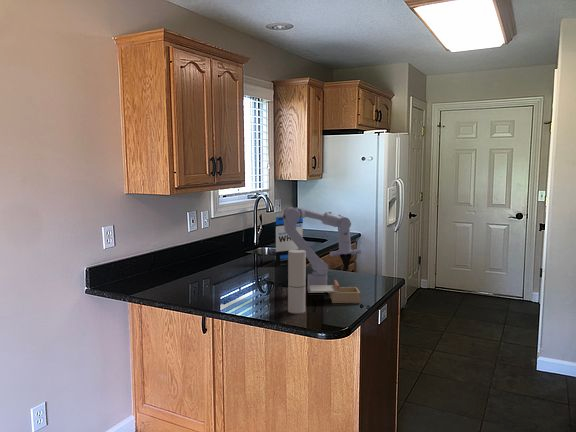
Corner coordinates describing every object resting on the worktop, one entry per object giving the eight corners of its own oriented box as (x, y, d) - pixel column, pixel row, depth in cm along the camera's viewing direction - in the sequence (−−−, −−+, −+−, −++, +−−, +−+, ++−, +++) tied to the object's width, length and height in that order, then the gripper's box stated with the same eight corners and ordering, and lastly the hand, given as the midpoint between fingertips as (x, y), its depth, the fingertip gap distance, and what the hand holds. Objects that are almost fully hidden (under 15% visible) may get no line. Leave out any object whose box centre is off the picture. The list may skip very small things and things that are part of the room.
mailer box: (332, 304, 208) (332, 292, 208) (330, 297, 218) (330, 287, 218) (360, 304, 209) (360, 292, 208) (356, 297, 219) (356, 287, 218)
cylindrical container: (304, 308, 202) (305, 249, 199) (305, 313, 195) (306, 252, 192) (287, 308, 202) (288, 249, 199) (288, 313, 195) (288, 252, 192)
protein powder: (270, 266, 290) (270, 216, 287) (296, 260, 307) (297, 214, 304) (281, 268, 283) (281, 217, 280) (308, 262, 301) (308, 215, 298)
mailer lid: (310, 292, 208) (310, 285, 207) (309, 286, 218) (309, 279, 218) (339, 292, 208) (339, 285, 207) (336, 286, 218) (336, 279, 218)
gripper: (358, 239, 232) (360, 266, 233) (328, 241, 232) (330, 269, 234) (360, 241, 225) (362, 269, 226) (329, 244, 225) (331, 272, 227)
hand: (346, 269), depth 229 cm, fingers closed
